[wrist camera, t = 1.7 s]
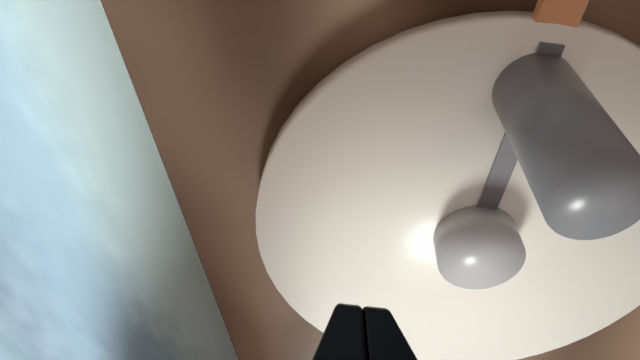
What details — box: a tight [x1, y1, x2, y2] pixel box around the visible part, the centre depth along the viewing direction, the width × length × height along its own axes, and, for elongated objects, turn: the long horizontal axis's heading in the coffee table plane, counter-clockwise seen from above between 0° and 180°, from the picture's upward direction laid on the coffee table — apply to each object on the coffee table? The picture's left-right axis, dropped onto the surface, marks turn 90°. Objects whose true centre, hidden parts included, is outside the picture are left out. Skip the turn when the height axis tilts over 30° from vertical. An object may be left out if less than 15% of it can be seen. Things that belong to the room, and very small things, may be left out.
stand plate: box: [101, 0, 640, 360], centre depth 20 cm, size 22×22×4 cm
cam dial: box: [256, 0, 640, 360], centre depth 18 cm, size 18×16×6 cm
